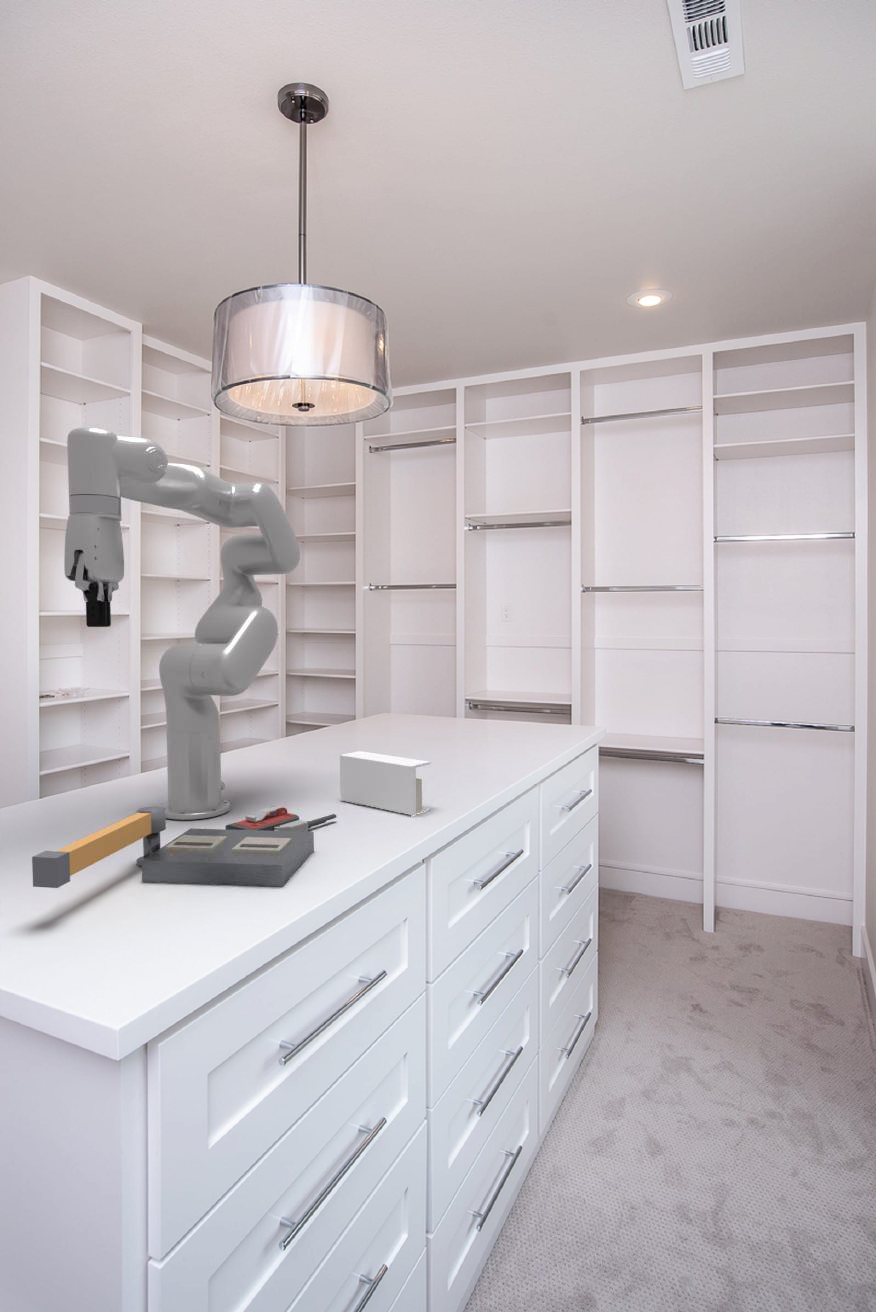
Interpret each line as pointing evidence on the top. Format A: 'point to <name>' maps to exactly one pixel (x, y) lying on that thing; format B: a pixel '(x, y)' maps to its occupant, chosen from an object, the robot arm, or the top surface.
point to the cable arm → (95, 847)
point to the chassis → (229, 857)
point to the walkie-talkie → (276, 821)
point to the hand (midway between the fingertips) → (98, 626)
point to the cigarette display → (381, 781)
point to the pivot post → (149, 846)
